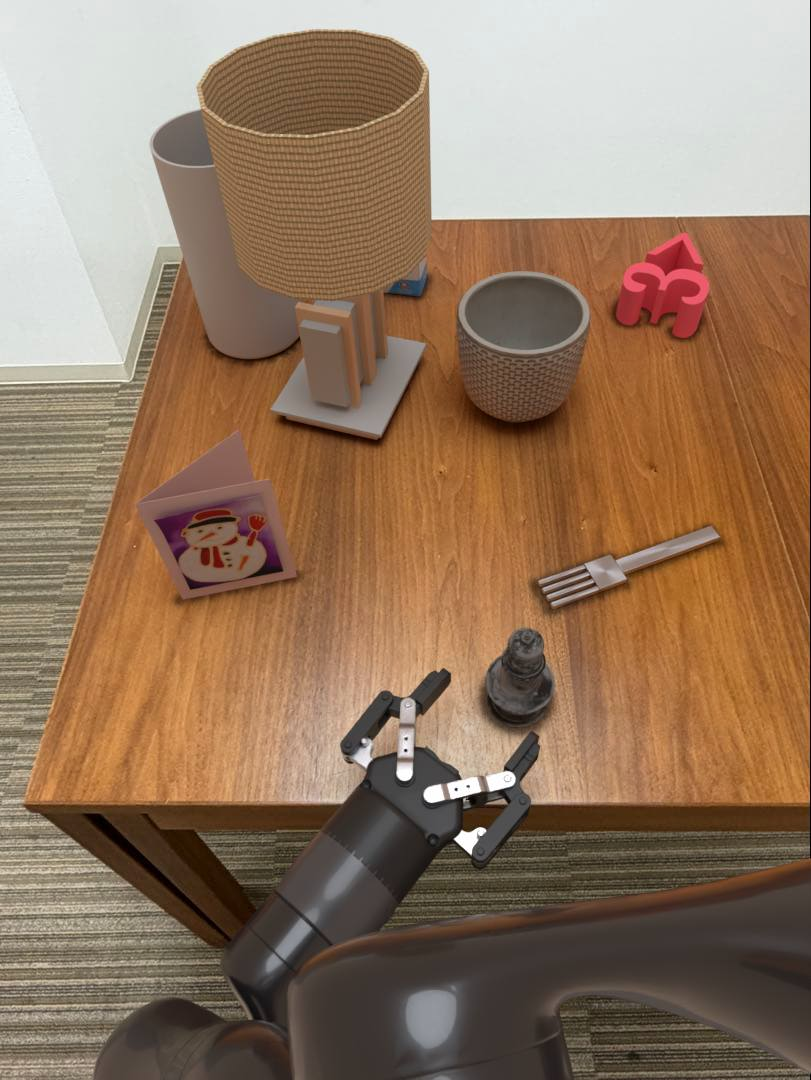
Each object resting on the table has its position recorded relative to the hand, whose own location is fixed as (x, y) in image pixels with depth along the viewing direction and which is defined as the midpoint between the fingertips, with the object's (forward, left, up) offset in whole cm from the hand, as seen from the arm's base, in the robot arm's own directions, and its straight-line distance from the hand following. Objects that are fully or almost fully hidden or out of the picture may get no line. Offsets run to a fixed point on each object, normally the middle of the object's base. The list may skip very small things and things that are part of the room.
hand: (489, 704), depth 63 cm
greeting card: (+30, -5, -7) cm, 31 cm away
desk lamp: (+33, -32, -7) cm, 46 cm away
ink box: (+39, -52, -7) cm, 65 cm away
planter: (+15, -39, -7) cm, 42 cm away
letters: (+6, -65, -7) cm, 65 cm away
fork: (-4, -23, -7) cm, 24 cm away
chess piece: (-1, -5, -7) cm, 8 cm away
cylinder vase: (+50, -36, -7) cm, 62 cm away
